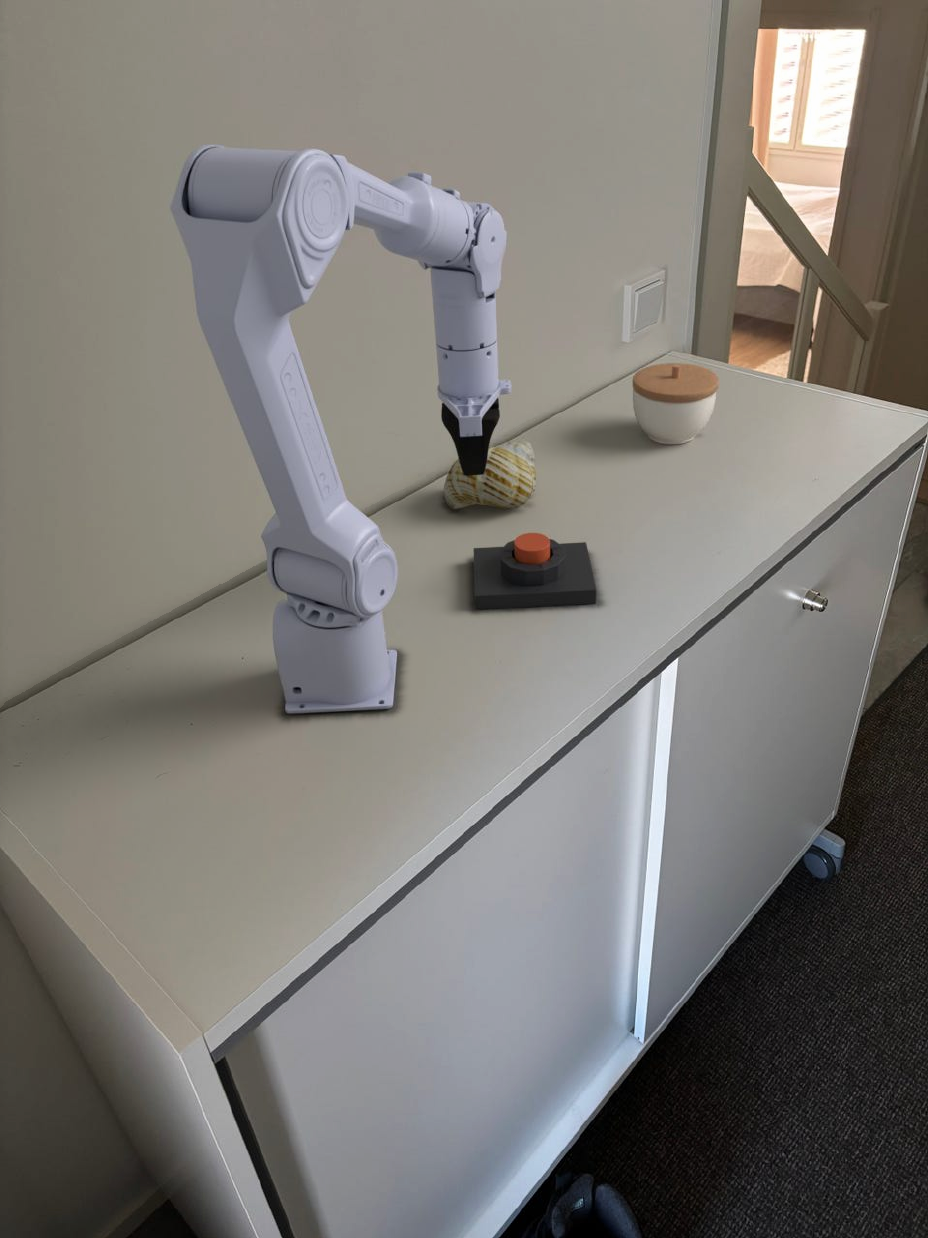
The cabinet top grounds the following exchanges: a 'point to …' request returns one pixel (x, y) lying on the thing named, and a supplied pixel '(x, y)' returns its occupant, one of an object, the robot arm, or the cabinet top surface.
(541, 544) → the switch button
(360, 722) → the cabinet top surface
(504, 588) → the switch plate
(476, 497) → the seashell
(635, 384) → the trinket box
